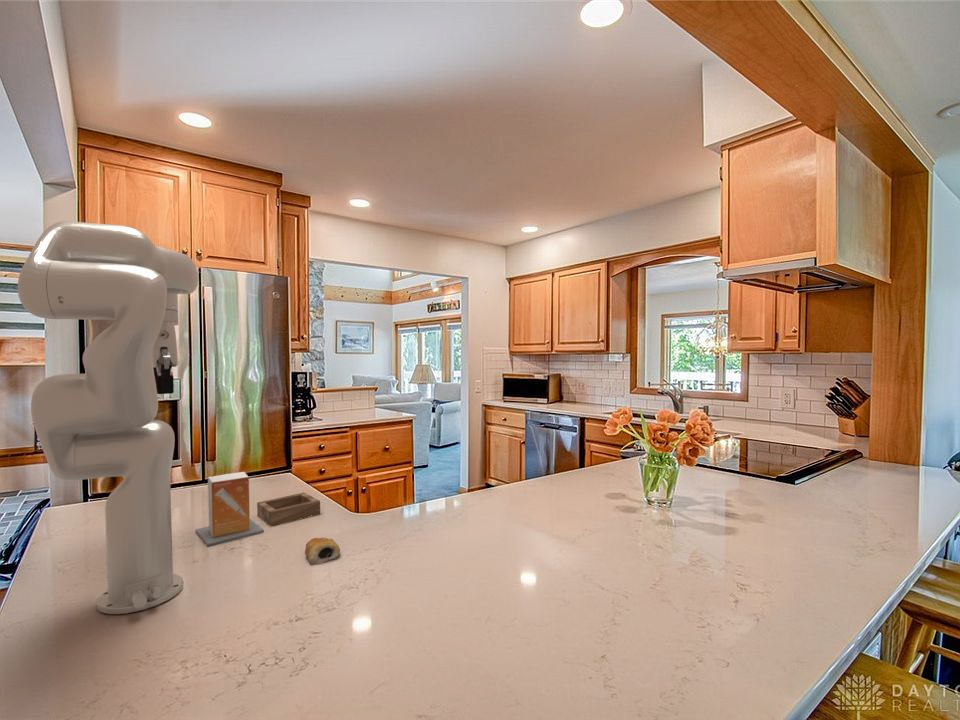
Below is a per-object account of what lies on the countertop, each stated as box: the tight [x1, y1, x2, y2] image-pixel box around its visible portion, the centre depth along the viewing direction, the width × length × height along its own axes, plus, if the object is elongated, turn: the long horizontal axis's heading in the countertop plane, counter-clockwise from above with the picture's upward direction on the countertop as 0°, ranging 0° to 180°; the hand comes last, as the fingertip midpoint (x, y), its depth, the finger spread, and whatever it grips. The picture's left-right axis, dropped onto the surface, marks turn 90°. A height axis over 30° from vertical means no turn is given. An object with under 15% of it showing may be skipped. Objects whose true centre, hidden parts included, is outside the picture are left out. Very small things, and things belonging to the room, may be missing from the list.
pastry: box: [304, 537, 341, 565], centre depth 102 cm, size 9×7×4 cm
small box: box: [207, 471, 251, 537], centre depth 115 cm, size 8×6×13 cm
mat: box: [194, 518, 264, 547], centre depth 115 cm, size 12×12×1 cm
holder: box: [256, 492, 321, 527], centre depth 127 cm, size 11×13×4 cm
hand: (161, 392), depth 111 cm, fingers open, 9 cm apart
